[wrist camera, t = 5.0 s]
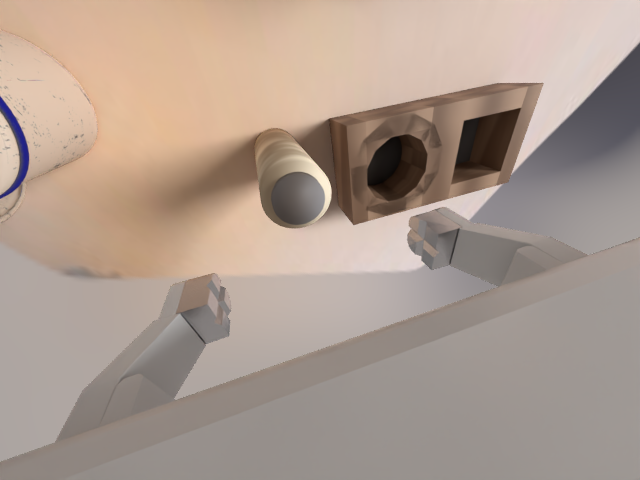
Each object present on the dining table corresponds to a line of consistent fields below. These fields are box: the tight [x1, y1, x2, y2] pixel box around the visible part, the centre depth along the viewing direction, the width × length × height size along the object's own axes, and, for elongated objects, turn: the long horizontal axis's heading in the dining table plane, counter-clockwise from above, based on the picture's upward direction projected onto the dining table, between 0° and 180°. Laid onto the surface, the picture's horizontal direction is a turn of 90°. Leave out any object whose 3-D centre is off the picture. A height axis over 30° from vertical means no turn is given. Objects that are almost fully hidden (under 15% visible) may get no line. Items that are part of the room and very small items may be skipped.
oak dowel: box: [254, 128, 332, 228], centre depth 19 cm, size 4×4×13 cm
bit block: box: [329, 83, 544, 225], centre depth 26 cm, size 20×10×5 cm, turn 100°
